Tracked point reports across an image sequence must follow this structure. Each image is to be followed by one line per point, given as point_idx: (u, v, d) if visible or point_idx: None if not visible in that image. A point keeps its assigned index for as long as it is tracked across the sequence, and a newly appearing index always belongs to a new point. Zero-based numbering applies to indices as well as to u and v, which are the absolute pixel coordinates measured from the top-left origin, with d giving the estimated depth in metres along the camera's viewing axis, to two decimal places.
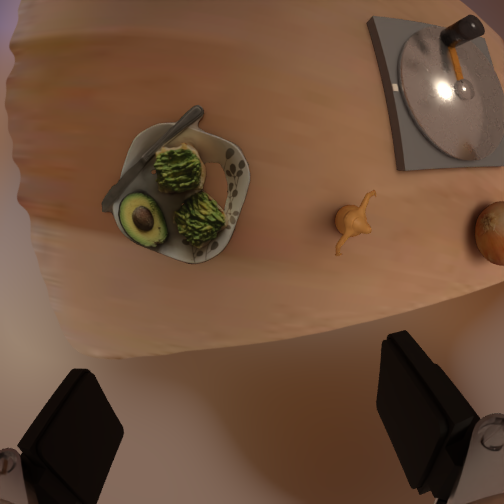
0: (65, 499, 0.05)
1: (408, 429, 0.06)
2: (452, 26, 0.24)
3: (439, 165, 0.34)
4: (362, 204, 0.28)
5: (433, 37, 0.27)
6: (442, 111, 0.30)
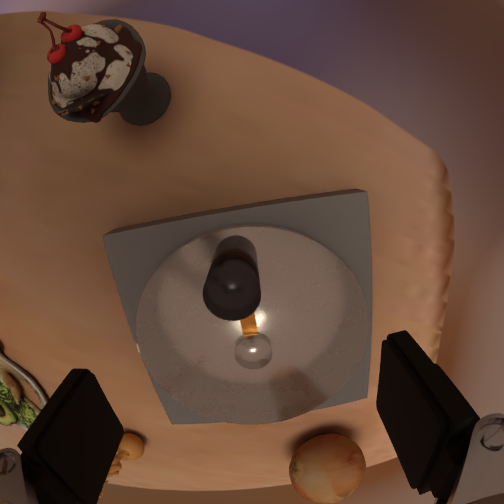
0: (65, 499, 0.05)
1: (408, 429, 0.06)
2: None
3: None
4: None
5: (197, 264, 0.22)
6: (207, 382, 0.25)
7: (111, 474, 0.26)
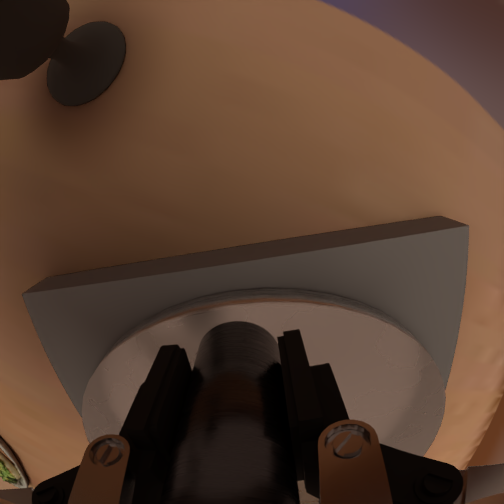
0: None
1: None
2: (183, 406, 0.07)
3: None
4: None
5: None
6: None
7: None
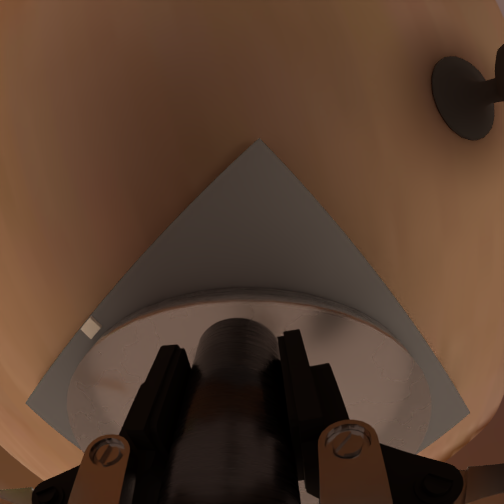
0: None
1: None
2: (184, 399, 0.07)
3: None
4: None
5: None
6: None
7: None
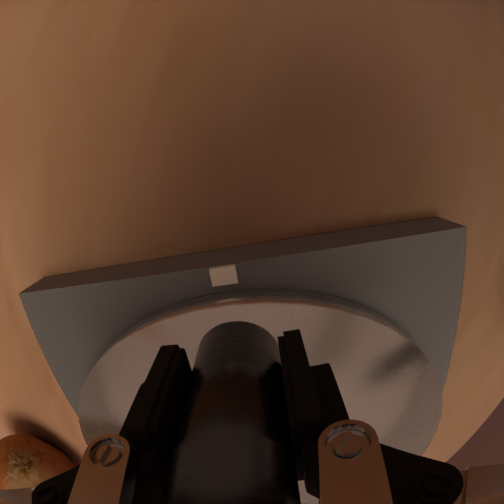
0: None
1: None
2: (183, 406, 0.07)
3: (63, 384, 0.14)
4: None
5: None
6: None
7: None
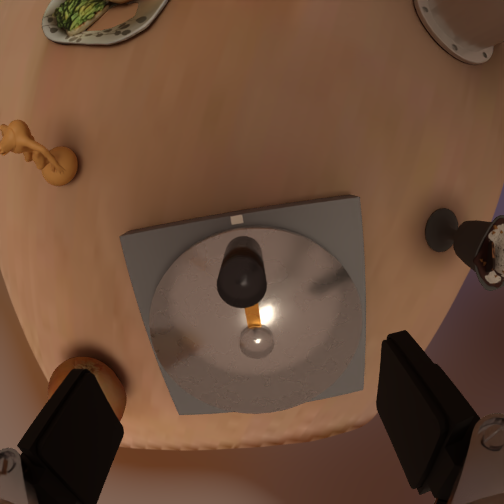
0: (65, 499, 0.05)
1: (408, 429, 0.06)
2: (223, 259, 0.22)
3: (138, 293, 0.28)
4: (30, 140, 0.16)
5: (208, 261, 0.25)
6: (213, 371, 0.28)
7: (27, 155, 0.19)
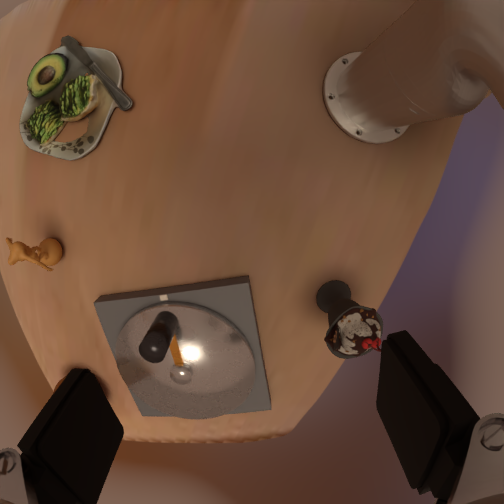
0: (65, 499, 0.05)
1: (408, 429, 0.06)
2: None
3: (108, 337, 0.40)
4: (28, 257, 0.28)
5: (146, 324, 0.37)
6: (158, 389, 0.40)
7: None
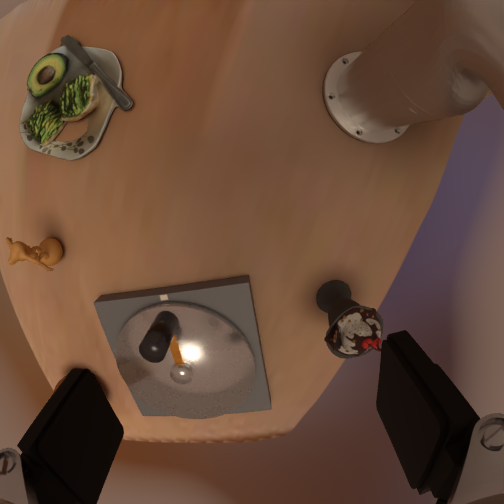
0: (65, 499, 0.05)
1: (408, 429, 0.06)
2: None
3: (108, 337, 0.40)
4: (28, 257, 0.28)
5: (146, 324, 0.37)
6: (158, 389, 0.40)
7: None
